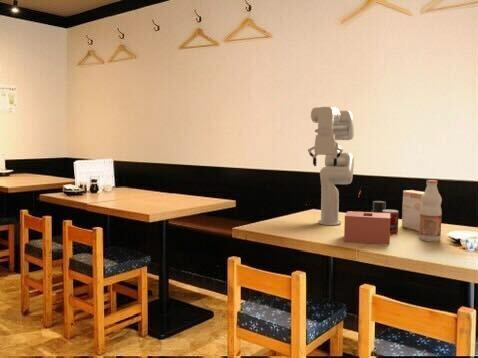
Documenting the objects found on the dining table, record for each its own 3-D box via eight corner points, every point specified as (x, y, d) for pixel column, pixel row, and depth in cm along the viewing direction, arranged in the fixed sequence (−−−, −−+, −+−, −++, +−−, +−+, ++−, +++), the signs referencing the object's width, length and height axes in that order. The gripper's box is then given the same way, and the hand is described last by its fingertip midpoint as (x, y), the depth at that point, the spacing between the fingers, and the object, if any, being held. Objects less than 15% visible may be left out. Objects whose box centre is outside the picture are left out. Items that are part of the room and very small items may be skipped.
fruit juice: (414, 237, 232) (417, 179, 229) (432, 236, 234) (434, 179, 231) (426, 242, 222) (429, 181, 220) (444, 241, 225) (447, 181, 222)
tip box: (346, 235, 237) (347, 211, 235) (389, 238, 231) (390, 213, 229) (344, 241, 223) (344, 215, 222) (389, 244, 217) (390, 218, 216)
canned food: (390, 234, 240) (390, 212, 238) (378, 231, 247) (379, 210, 246) (401, 232, 243) (402, 211, 242) (389, 230, 250) (390, 209, 249)
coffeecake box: (431, 230, 248) (432, 193, 246) (419, 231, 246) (421, 193, 244) (412, 225, 262) (413, 189, 261) (401, 226, 260) (402, 190, 258)
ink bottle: (380, 225, 263) (381, 203, 262) (366, 222, 270) (367, 201, 269) (390, 223, 269) (391, 201, 268) (377, 220, 276) (377, 200, 275)
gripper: (306, 131, 239) (306, 166, 241) (342, 132, 234) (341, 167, 236) (309, 131, 246) (308, 165, 248) (343, 132, 241) (343, 166, 243)
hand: (324, 166), depth 242 cm, fingers open, 9 cm apart
